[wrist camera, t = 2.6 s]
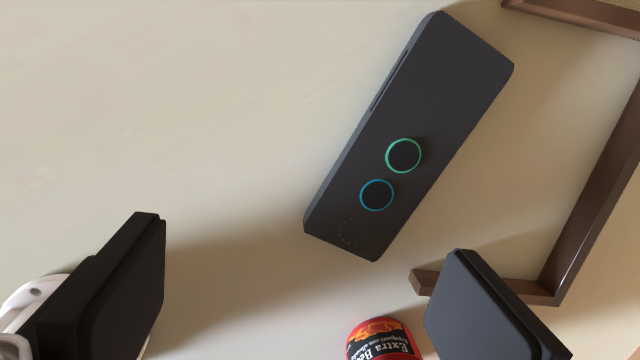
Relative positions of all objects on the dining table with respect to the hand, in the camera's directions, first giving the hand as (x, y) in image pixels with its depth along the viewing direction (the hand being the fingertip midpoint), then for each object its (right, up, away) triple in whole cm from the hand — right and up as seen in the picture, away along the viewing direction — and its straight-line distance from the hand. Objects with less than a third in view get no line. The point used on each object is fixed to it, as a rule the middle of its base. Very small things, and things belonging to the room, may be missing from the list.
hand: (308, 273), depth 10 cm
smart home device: (+7, +6, +18) cm, 20 cm away
